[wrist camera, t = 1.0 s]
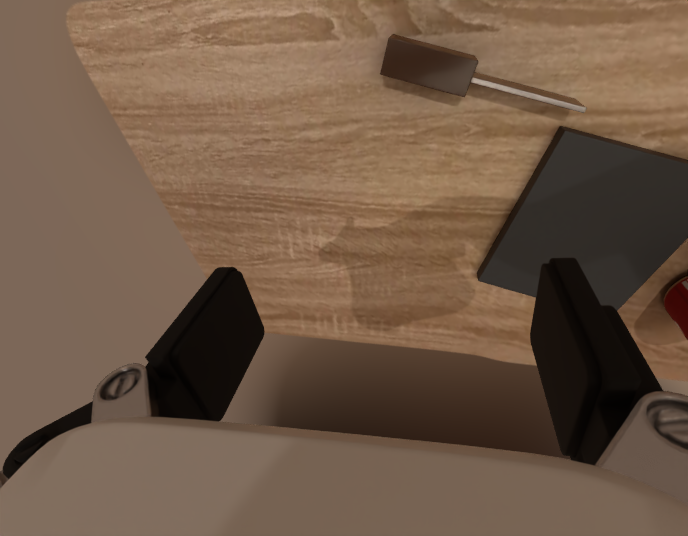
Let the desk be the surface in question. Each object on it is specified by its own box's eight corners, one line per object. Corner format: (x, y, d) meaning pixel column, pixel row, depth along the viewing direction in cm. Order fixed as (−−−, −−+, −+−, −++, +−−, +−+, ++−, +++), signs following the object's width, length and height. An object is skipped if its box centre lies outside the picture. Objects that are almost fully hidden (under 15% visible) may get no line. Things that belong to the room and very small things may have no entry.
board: (560, 125, 31) (565, 130, 30) (733, 172, 31) (744, 179, 30) (476, 273, 42) (477, 281, 41) (604, 309, 41) (609, 318, 40)
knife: (384, 68, 32) (379, 74, 29) (392, 33, 30) (389, 37, 28) (564, 117, 31) (575, 127, 29) (583, 84, 29) (596, 92, 27)
